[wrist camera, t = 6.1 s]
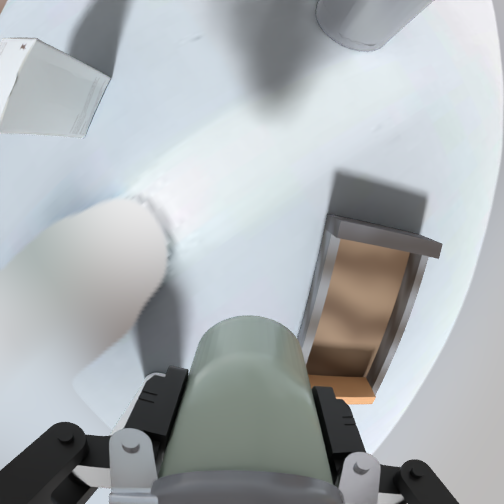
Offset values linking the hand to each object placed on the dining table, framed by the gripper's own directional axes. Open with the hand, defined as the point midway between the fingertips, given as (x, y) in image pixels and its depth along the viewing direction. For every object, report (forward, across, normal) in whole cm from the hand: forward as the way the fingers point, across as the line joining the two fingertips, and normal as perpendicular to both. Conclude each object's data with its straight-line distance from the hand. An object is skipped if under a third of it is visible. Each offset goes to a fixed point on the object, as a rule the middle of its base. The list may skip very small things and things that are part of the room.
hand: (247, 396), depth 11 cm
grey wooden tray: (+21, -13, +5) cm, 25 cm away
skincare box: (+21, +23, -15) cm, 35 cm away
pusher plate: (+20, -13, +14) cm, 28 cm away
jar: (+2, 0, 0) cm, 2 cm away
